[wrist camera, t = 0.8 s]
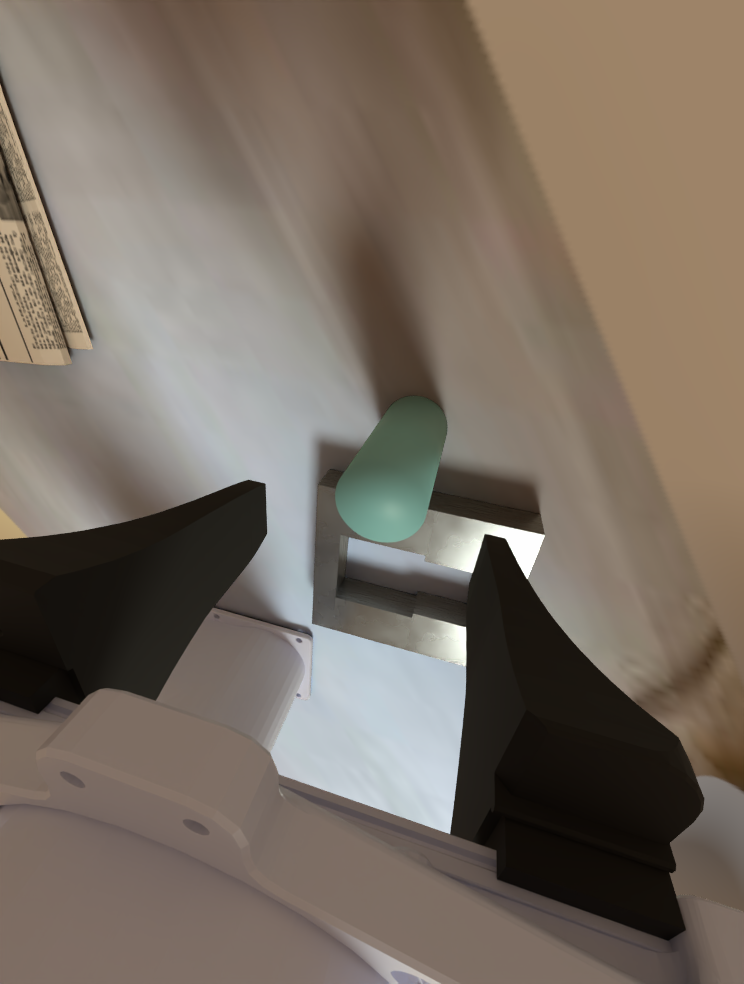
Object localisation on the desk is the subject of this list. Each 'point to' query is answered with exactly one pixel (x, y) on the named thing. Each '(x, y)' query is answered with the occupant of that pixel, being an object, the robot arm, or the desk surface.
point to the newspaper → (31, 268)
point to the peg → (394, 472)
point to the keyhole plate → (443, 541)
